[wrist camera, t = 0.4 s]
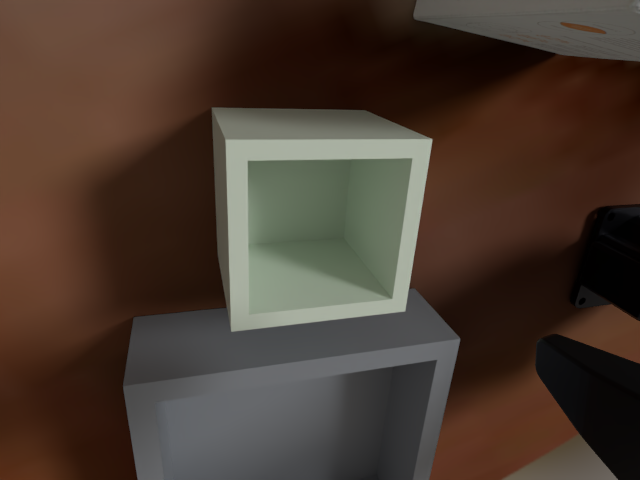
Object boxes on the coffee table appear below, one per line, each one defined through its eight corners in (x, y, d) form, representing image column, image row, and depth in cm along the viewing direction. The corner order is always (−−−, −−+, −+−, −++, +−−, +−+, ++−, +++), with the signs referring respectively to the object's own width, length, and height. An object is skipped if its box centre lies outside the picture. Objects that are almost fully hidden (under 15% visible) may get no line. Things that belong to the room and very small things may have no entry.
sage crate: (363, 109, 19) (432, 139, 14) (351, 244, 22) (405, 311, 17) (211, 107, 18) (225, 139, 12) (217, 253, 20) (231, 331, 15)
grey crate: (414, 288, 24) (460, 338, 20) (384, 471, 30) (415, 538, 26) (133, 317, 20) (122, 386, 16) (161, 521, 26) (157, 608, 22)
